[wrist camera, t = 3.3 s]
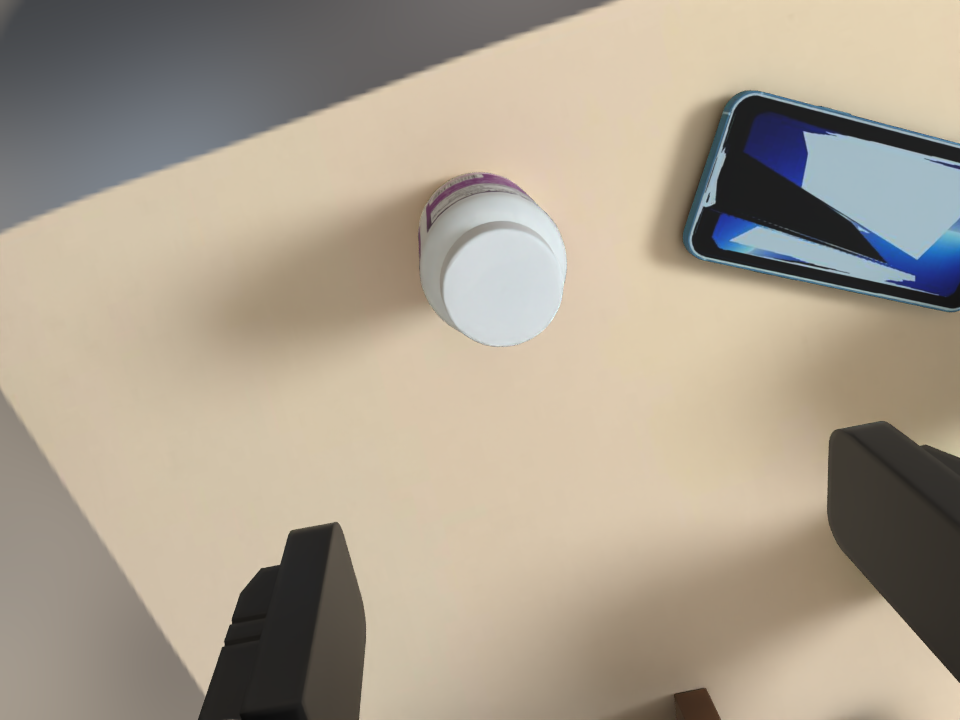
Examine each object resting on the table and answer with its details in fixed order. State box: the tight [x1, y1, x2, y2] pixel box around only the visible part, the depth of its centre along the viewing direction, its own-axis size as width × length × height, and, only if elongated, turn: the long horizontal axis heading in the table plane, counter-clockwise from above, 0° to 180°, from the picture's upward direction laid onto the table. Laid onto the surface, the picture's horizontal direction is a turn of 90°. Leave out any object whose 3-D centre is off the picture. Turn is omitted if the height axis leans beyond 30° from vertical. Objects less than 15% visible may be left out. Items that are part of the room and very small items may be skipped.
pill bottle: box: [418, 172, 567, 347], centre depth 28 cm, size 5×5×10 cm
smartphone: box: [683, 90, 960, 312], centre depth 33 cm, size 7×1×15 cm
